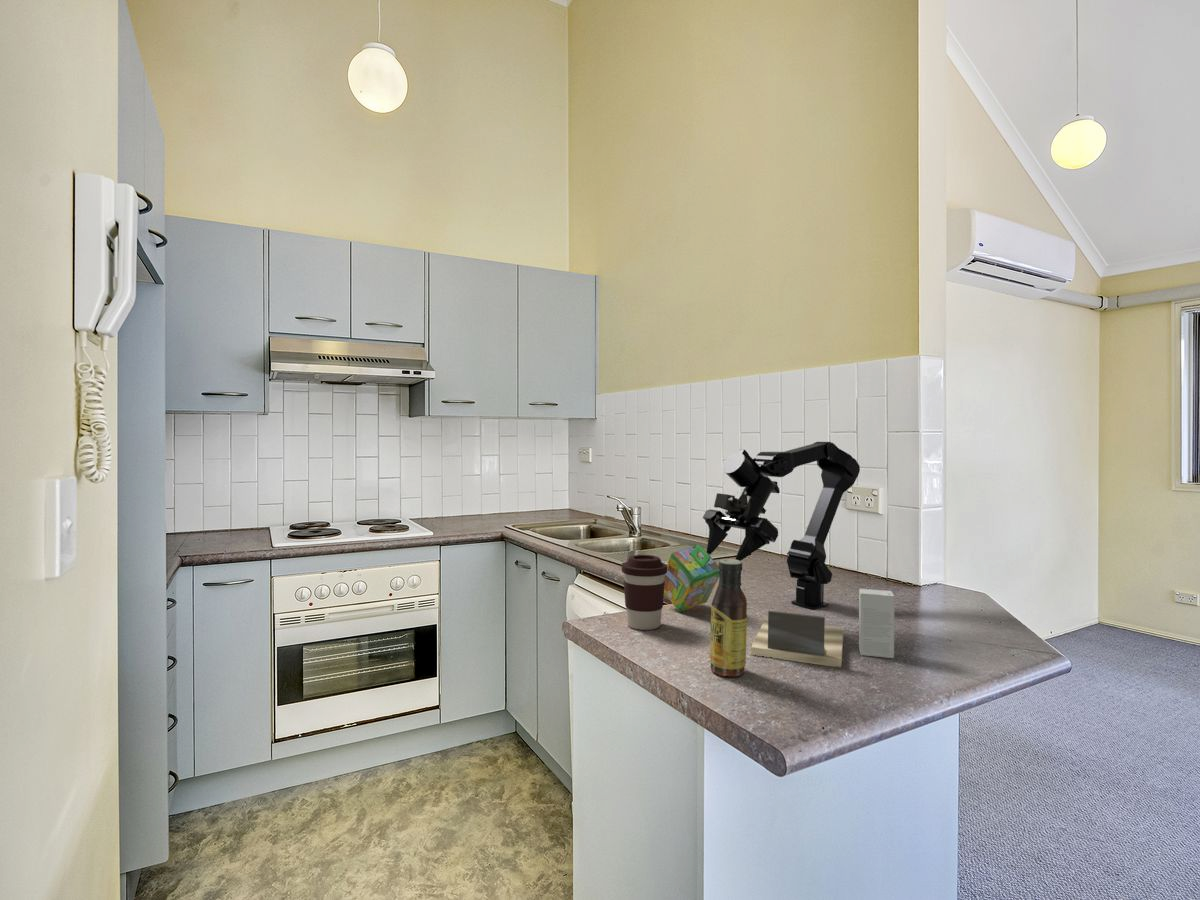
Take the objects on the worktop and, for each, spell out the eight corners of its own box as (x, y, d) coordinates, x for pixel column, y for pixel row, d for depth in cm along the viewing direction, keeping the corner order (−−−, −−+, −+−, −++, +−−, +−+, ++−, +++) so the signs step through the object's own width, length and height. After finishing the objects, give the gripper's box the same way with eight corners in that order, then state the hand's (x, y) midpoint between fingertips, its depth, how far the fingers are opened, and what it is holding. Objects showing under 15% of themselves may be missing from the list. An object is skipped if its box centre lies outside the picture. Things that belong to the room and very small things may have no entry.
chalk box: (656, 585, 150) (673, 542, 142) (685, 576, 155) (703, 533, 146) (679, 614, 144) (698, 570, 136) (708, 603, 149) (728, 560, 140)
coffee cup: (653, 635, 128) (654, 564, 127) (612, 627, 133) (613, 558, 133) (674, 623, 136) (674, 556, 136) (634, 616, 141) (635, 551, 141)
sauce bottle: (705, 665, 111) (707, 556, 111) (739, 664, 112) (740, 556, 111) (715, 680, 105) (716, 564, 104) (751, 679, 105) (752, 564, 105)
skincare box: (891, 651, 119) (892, 590, 119) (894, 659, 115) (895, 596, 115) (857, 648, 121) (858, 587, 121) (859, 655, 117) (860, 593, 117)
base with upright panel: (765, 624, 136) (765, 586, 135) (843, 634, 129) (844, 594, 129) (751, 654, 117) (751, 610, 117) (841, 667, 111) (842, 621, 111)
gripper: (704, 475, 145) (673, 531, 141) (764, 481, 129) (730, 544, 125) (732, 502, 150) (702, 556, 146) (792, 510, 134) (761, 572, 130)
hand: (722, 557), depth 136 cm, fingers open, 9 cm apart
